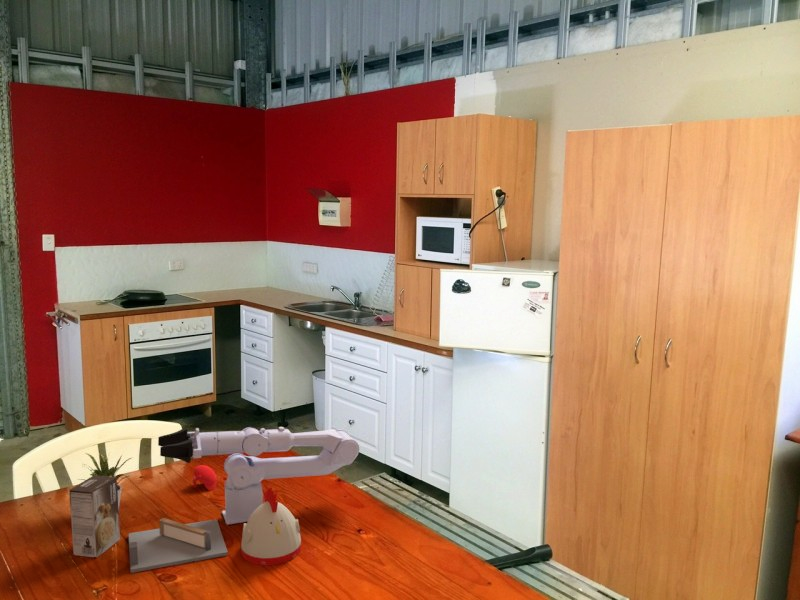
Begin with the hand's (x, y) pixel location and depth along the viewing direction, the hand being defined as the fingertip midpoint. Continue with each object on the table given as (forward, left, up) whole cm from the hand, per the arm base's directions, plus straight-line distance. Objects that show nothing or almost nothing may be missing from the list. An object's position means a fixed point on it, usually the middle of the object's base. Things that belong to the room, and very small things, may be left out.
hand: (159, 446), depth 167 cm
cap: (-13, -23, -22) cm, 34 cm away
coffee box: (+15, +4, -22) cm, 27 cm away
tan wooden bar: (-4, +10, -20) cm, 23 cm away
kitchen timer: (-23, +20, -22) cm, 38 cm away
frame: (-3, +10, -22) cm, 24 cm away
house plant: (+14, -16, -22) cm, 30 cm away
